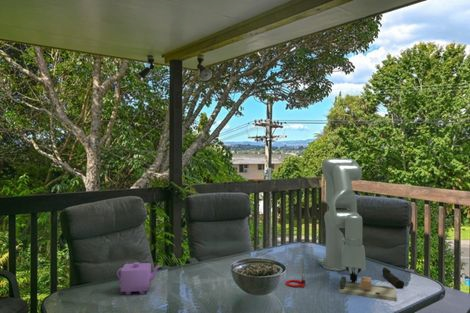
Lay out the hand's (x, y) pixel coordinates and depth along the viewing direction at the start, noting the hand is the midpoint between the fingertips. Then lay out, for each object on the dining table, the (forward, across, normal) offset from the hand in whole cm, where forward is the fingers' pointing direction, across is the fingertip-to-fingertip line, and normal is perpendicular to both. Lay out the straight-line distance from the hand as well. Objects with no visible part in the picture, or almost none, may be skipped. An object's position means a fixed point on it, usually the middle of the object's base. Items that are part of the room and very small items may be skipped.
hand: (353, 281), depth 163 cm
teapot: (+4, -89, -40) cm, 98 cm away
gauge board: (+4, +6, 0) cm, 7 cm away
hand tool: (+4, +16, +19) cm, 25 cm away
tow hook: (+4, -26, -4) cm, 27 cm away
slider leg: (+2, +5, 0) cm, 6 cm away
